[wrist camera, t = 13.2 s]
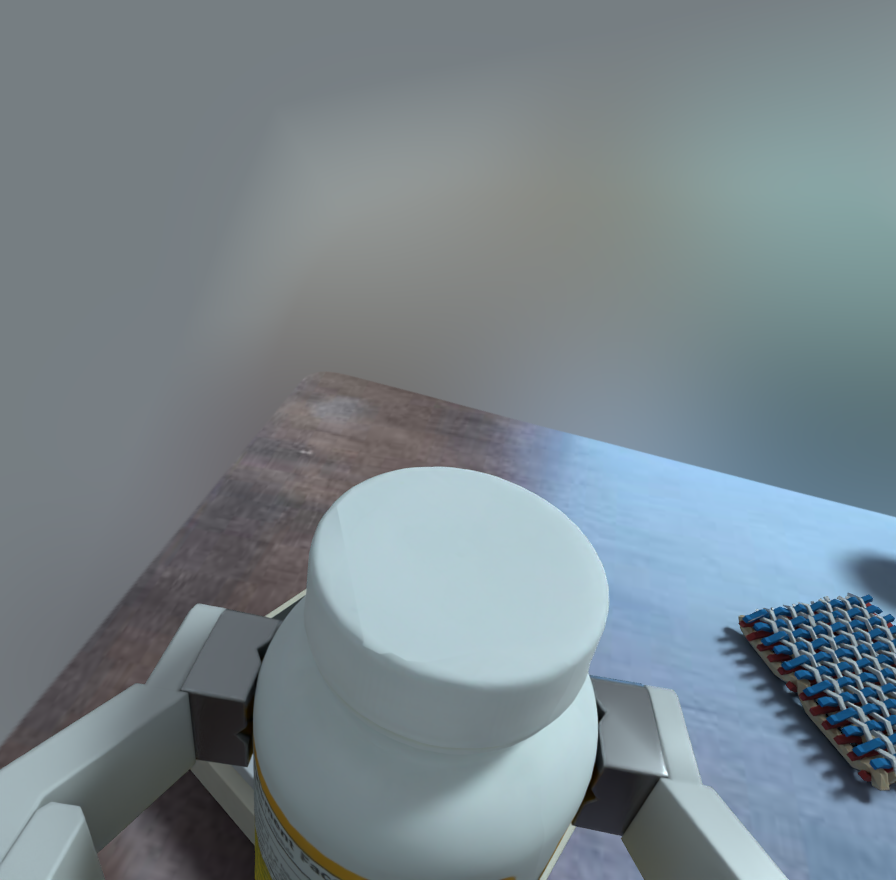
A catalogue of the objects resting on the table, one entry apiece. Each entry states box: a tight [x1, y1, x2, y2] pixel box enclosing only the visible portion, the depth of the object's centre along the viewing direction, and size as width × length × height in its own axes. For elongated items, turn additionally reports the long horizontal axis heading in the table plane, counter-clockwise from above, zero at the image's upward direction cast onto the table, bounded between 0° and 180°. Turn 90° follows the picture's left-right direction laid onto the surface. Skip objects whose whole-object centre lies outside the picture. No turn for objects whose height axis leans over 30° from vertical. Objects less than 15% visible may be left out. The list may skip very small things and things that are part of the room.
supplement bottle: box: [253, 467, 609, 880], centre depth 10 cm, size 5×5×10 cm
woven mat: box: [739, 593, 896, 790], centre depth 33 cm, size 10×11×2 cm
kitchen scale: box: [190, 589, 576, 880], centre depth 25 cm, size 16×12×3 cm
